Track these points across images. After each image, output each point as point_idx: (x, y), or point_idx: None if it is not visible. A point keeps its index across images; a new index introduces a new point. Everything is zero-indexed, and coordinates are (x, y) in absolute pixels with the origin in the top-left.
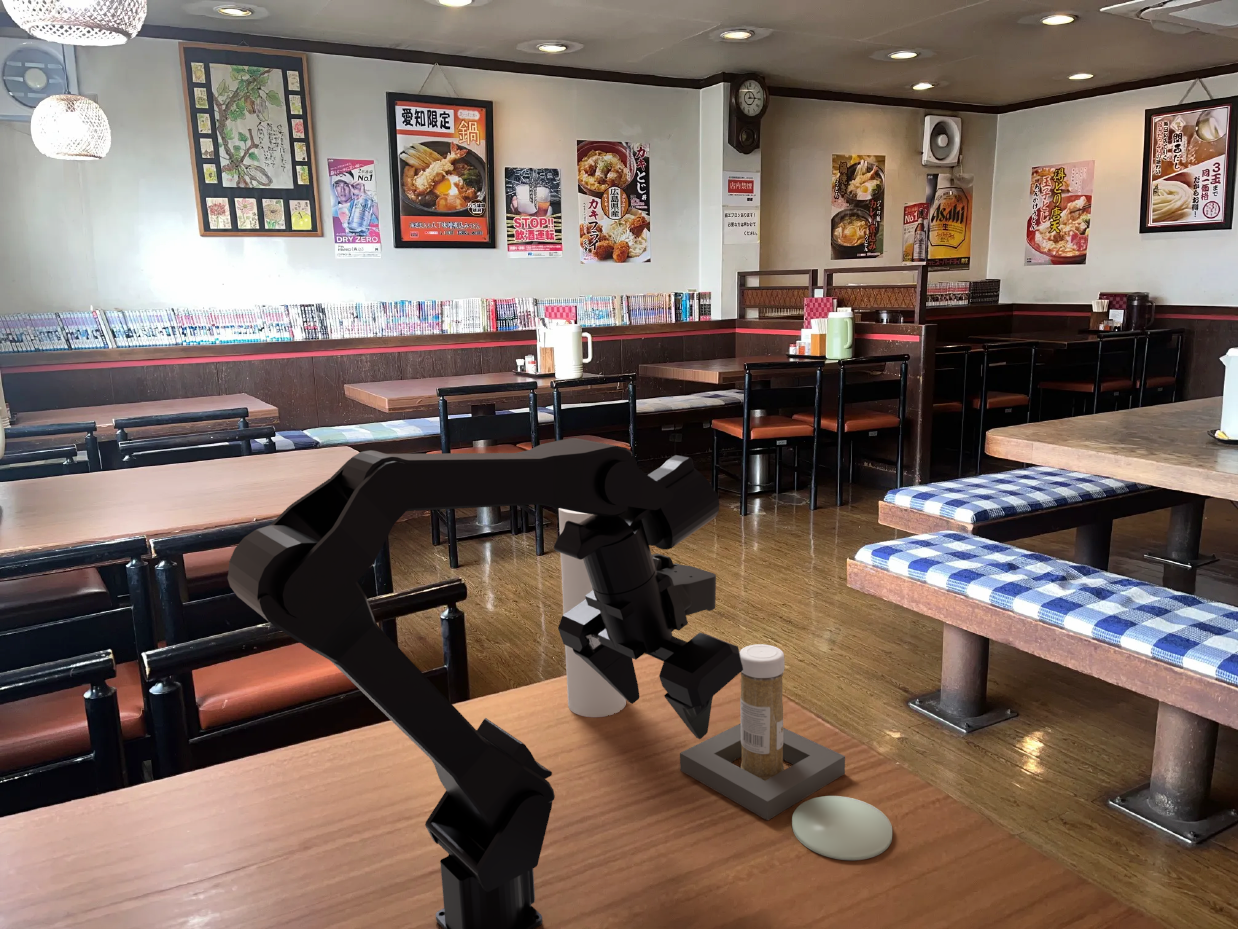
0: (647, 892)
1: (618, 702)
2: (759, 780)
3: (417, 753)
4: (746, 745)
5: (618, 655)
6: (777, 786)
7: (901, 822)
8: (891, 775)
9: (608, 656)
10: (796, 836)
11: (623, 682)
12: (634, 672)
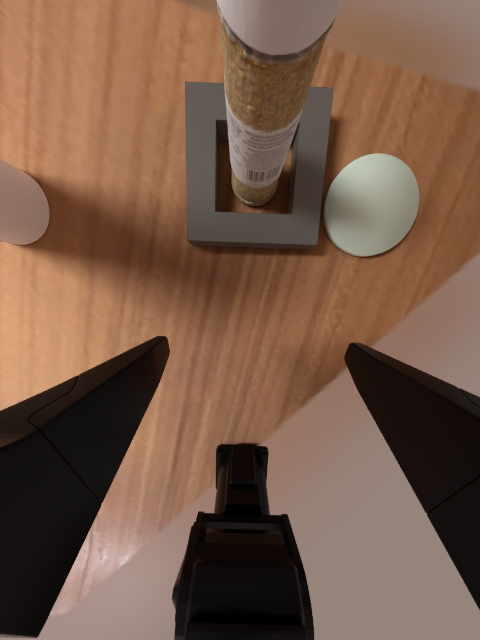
0: (294, 382)
1: (33, 196)
2: (287, 218)
3: (11, 403)
4: (254, 184)
5: (58, 480)
6: (308, 213)
7: (407, 153)
8: (363, 70)
9: (52, 533)
10: (342, 250)
11: (140, 398)
12: (127, 369)
